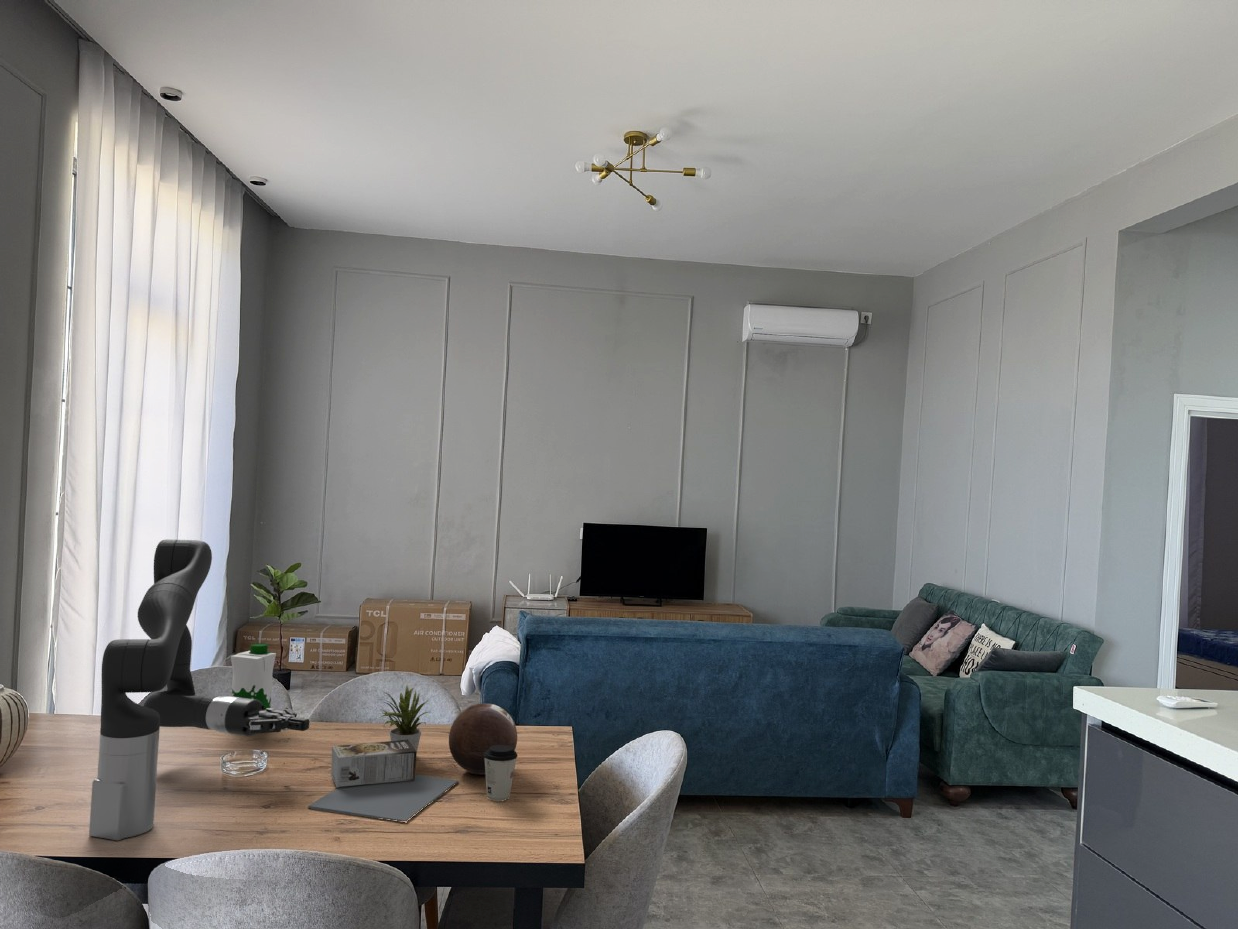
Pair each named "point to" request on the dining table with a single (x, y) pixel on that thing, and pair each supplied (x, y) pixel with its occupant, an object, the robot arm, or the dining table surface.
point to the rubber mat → (385, 798)
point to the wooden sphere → (480, 735)
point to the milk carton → (253, 674)
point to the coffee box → (373, 763)
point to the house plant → (405, 719)
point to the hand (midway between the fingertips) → (307, 725)
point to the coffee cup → (499, 771)
